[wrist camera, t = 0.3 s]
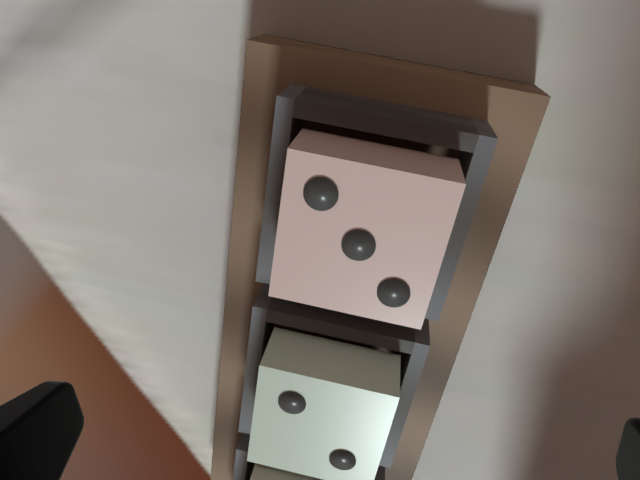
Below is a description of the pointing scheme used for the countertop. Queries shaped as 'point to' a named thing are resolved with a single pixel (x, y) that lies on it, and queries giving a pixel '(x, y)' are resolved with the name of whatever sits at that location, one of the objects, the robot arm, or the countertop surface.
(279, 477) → the tile one
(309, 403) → the tile two
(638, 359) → the countertop surface
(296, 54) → the digit board
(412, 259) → the tile three
